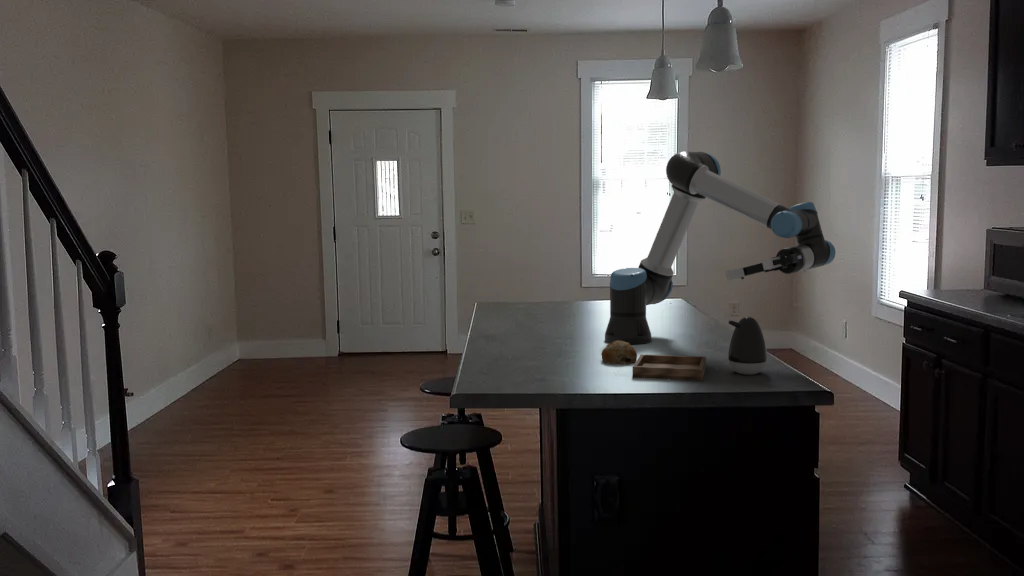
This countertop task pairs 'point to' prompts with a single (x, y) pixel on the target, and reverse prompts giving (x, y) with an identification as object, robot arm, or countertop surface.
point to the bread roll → (619, 353)
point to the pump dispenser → (747, 347)
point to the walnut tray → (669, 367)
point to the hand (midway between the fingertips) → (745, 270)
